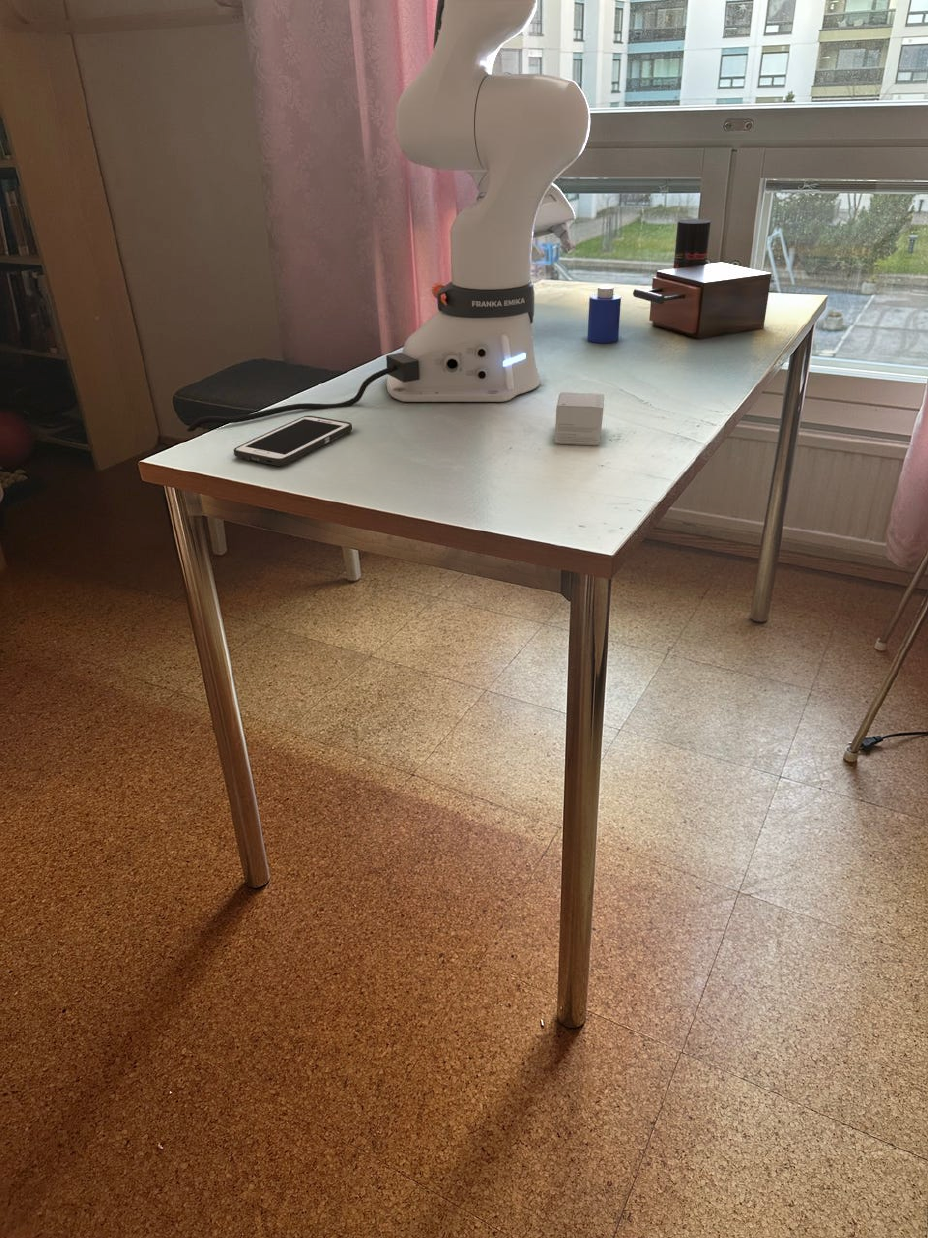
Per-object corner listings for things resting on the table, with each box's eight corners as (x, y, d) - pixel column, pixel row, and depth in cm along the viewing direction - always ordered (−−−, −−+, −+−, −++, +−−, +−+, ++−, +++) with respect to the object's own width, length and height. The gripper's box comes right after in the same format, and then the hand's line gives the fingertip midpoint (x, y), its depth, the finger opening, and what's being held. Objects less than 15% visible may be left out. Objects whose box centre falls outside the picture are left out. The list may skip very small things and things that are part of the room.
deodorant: (704, 308, 173) (713, 222, 166) (672, 308, 173) (680, 223, 166) (698, 301, 178) (706, 218, 171) (667, 301, 179) (675, 219, 171)
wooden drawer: (663, 338, 151) (668, 292, 147) (622, 324, 160) (625, 280, 156) (752, 323, 158) (758, 279, 155) (708, 311, 167) (713, 269, 163)
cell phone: (231, 457, 109) (229, 449, 109) (307, 421, 120) (306, 414, 120) (281, 468, 106) (280, 460, 105) (355, 430, 117) (354, 422, 116)
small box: (600, 446, 110) (603, 406, 108) (553, 444, 111) (554, 405, 109) (602, 430, 115) (605, 392, 113) (557, 428, 116) (558, 390, 114)
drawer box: (698, 338, 154) (704, 282, 149) (652, 324, 163) (656, 270, 159) (763, 327, 159) (771, 273, 155) (715, 314, 169) (721, 262, 164)
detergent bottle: (591, 343, 152) (594, 290, 148) (584, 336, 157) (586, 284, 152) (621, 342, 153) (625, 289, 148) (613, 334, 157) (616, 283, 153)
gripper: (482, 179, 144) (532, 250, 144) (553, 168, 158) (599, 233, 158) (461, 208, 149) (509, 277, 149) (532, 195, 163) (576, 258, 163)
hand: (556, 254), depth 154 cm, fingers open, 8 cm apart
